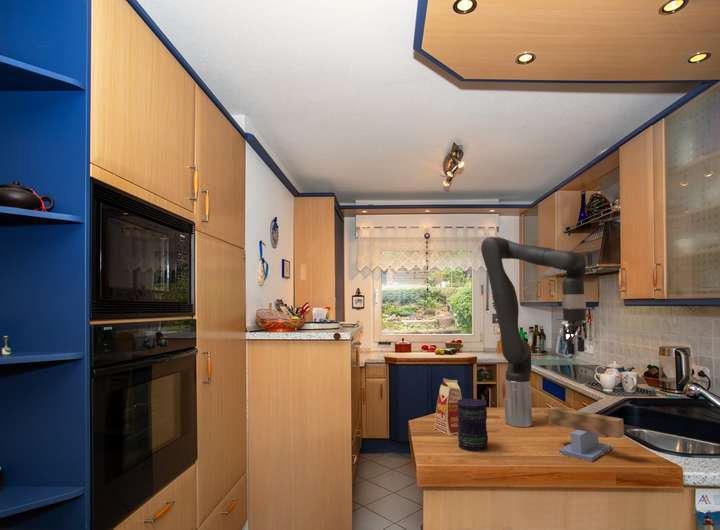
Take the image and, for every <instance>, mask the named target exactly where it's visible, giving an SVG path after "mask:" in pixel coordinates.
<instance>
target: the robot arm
mask: <svg viewBox="0 0 720 530" xmlns="http://www.w3.org/2000/svg"><path fill="white" fill-rule="evenodd" d="M480 249H481V256H482V258H483V261H484V262H483V263H484V265H485V268H486V272H487V276H488V280H489V285H490V289H491V295H492V296H491V297H492V301H493V306H494V309H495V314H496V318H497V322H498V326H499V327H498V328H499V332H500V342H501V344H500V345H501V352H502V356H503V357H504V359H505V360H506V361H507V370H506V372H505V389H506V390H505V391H506V392H505V393H506V398H504V419H505V420H504V423H505V424H508V425H509V426H512V427H518V428H528V427H532V426H533V414H532V413H533V412H532V411H533V410H532V388H531V385H532V384H531V374H532V350H531V346H530V344H529V343H528V342H527V341H526V340H525V339H523V338H522V337H521V333H520V329H519V328H520V327H519V313H520V312H519V301H518V295H517V291H516V288H515V285H514V284H513V282H512V281H511V278H510V277H509V276H508V274H507V273H506V270H505V268H504V264H503V259H504V260H506V259H507V260H510V259H512V260H513V259H514V260H519V261H523V262H526V263H528V264H533V265H535V266H540V267H541V266H542V267H546V268H554V269H556V270H560V271H566V273H565V274H566V275H565V278H564V279H563V280H562V286H561V288H562V289H561V290H562V300H561V302H562V320H563V321H567V324H563V325H562V333H563V334H562V335H563V340H562V341H563V342H565V343H566V345H567V346H566V348H567V349H566V350H567V354H568V355H574V354H575V355H576V352H575V350H576V349H575V347H576V346H575V340H577V341H576V343H577V352H581V353H584V352H585V351H586V349H585V348H586V347H585V341H586V340H587V339H588V331H587V330H588V329H587V322H584V321H586V320H587V309H586V307H587V305H586V304H587V303H586V297H585V284H584V281H585V277H586V269H587V261H586V258H585V256H584V254H582V253H580V252H577V251H568V250H558V249H555V248H550V247H544V246H536V245H528V244H521V243H518V242H515V241H512V240H508V239H505V238H503V237H500V236H499V237H498V236H496V237H494V236H489V237H486V238H484V240H483V241H482V243H481V246H480Z"/></svg>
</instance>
